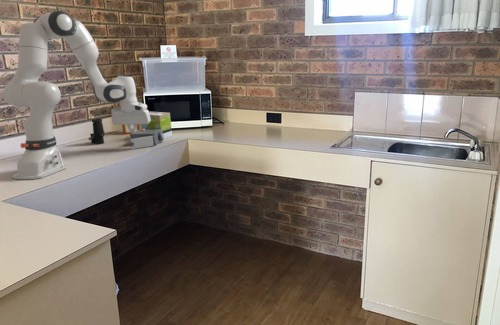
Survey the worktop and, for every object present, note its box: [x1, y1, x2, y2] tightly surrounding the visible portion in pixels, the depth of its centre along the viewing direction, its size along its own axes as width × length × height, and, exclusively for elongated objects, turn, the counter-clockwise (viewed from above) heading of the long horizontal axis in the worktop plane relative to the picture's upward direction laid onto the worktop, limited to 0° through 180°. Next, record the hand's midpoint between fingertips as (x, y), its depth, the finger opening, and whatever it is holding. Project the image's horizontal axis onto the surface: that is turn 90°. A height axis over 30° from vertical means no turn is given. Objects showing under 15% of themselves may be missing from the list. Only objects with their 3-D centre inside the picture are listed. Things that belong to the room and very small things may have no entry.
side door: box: [129, 136, 156, 150], centre depth 216 cm, size 2×13×5 cm, turn 117°
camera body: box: [129, 128, 165, 146], centre depth 226 cm, size 12×16×7 cm
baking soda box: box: [121, 124, 140, 136], centre depth 256 cm, size 10×6×16 cm
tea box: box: [140, 111, 173, 141], centre depth 238 cm, size 15×10×15 cm, turn 63°
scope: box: [88, 118, 106, 145], centre depth 230 cm, size 8×14×10 cm
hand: (132, 132), depth 217 cm, fingers closed
